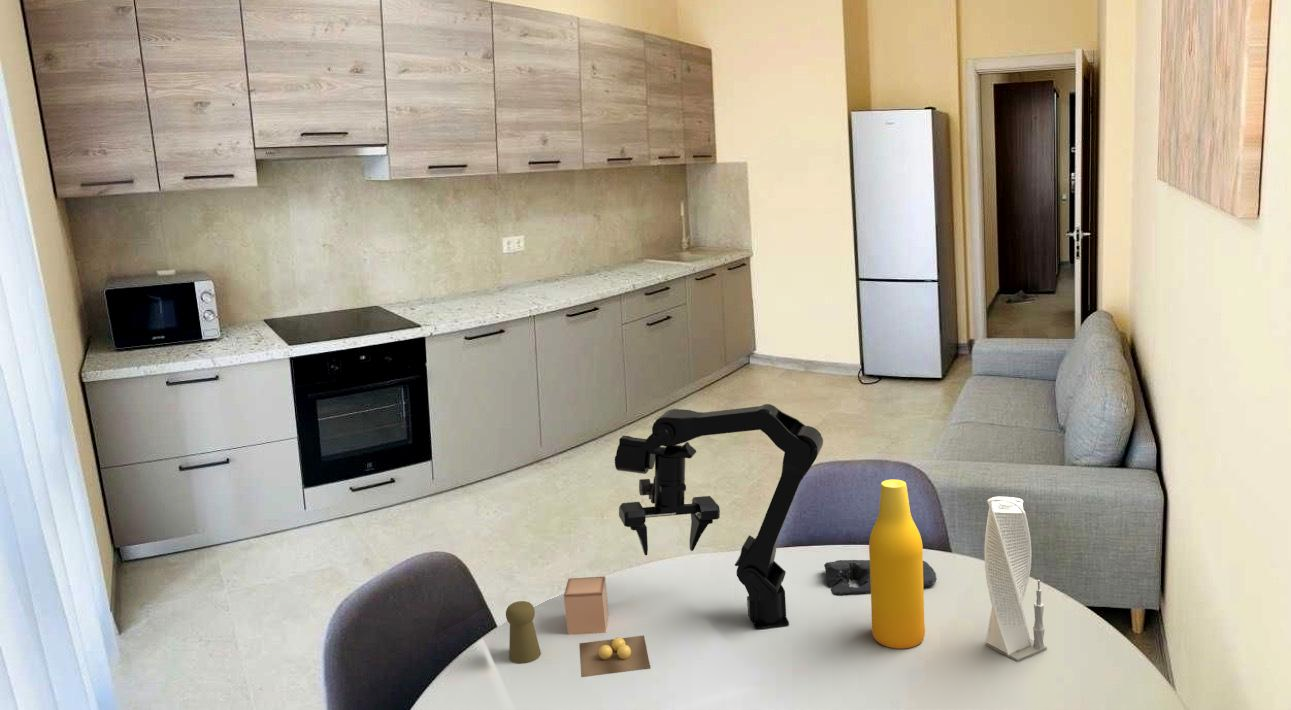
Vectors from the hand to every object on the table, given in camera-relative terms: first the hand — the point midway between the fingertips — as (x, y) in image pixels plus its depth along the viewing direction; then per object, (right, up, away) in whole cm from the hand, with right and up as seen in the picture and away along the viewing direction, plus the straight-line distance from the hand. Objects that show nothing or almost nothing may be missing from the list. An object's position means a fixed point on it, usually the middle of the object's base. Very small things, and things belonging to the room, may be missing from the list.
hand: (668, 552), depth 186 cm
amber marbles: (-10, -16, -14) cm, 23 cm away
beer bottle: (+41, -13, -14) cm, 45 cm away
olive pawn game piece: (-26, -18, -11) cm, 34 cm away
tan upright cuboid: (-15, -14, -2) cm, 21 cm away
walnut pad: (-10, -17, -14) cm, 24 cm away
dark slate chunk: (+44, -8, +10) cm, 45 cm away
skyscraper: (+59, -12, -20) cm, 63 cm away
